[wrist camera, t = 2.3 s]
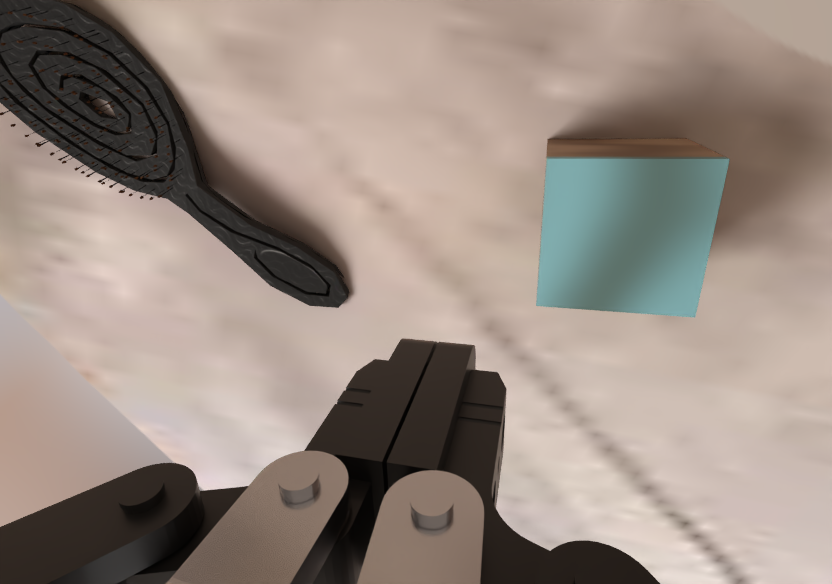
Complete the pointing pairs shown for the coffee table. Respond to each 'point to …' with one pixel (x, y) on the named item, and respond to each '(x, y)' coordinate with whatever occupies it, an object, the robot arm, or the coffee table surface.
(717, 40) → the coffee table surface
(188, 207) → the hairbrush
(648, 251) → the two tone block
